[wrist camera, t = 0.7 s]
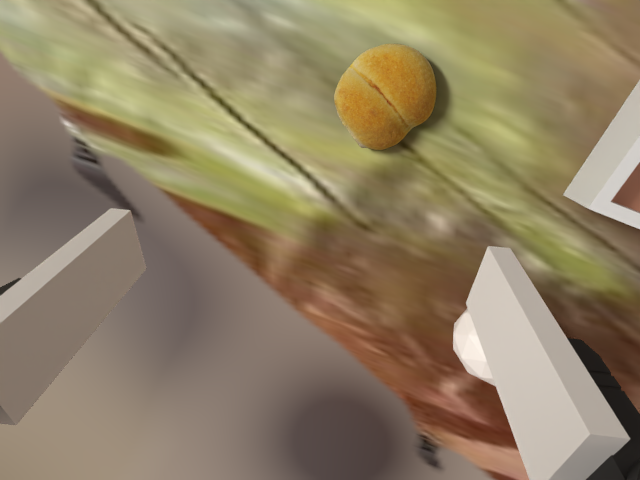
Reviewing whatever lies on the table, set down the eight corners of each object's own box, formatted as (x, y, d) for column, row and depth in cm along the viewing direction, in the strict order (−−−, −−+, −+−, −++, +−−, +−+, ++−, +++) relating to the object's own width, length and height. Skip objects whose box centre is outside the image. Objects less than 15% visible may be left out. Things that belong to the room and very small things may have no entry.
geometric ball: (507, 304, 38) (580, 351, 31) (459, 359, 39) (520, 417, 32) (474, 270, 34) (549, 315, 27) (421, 332, 35) (480, 391, 28)
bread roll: (453, 96, 31) (456, 93, 28) (375, 161, 35) (369, 166, 32) (396, 22, 31) (391, 9, 27) (323, 96, 35) (310, 93, 31)
